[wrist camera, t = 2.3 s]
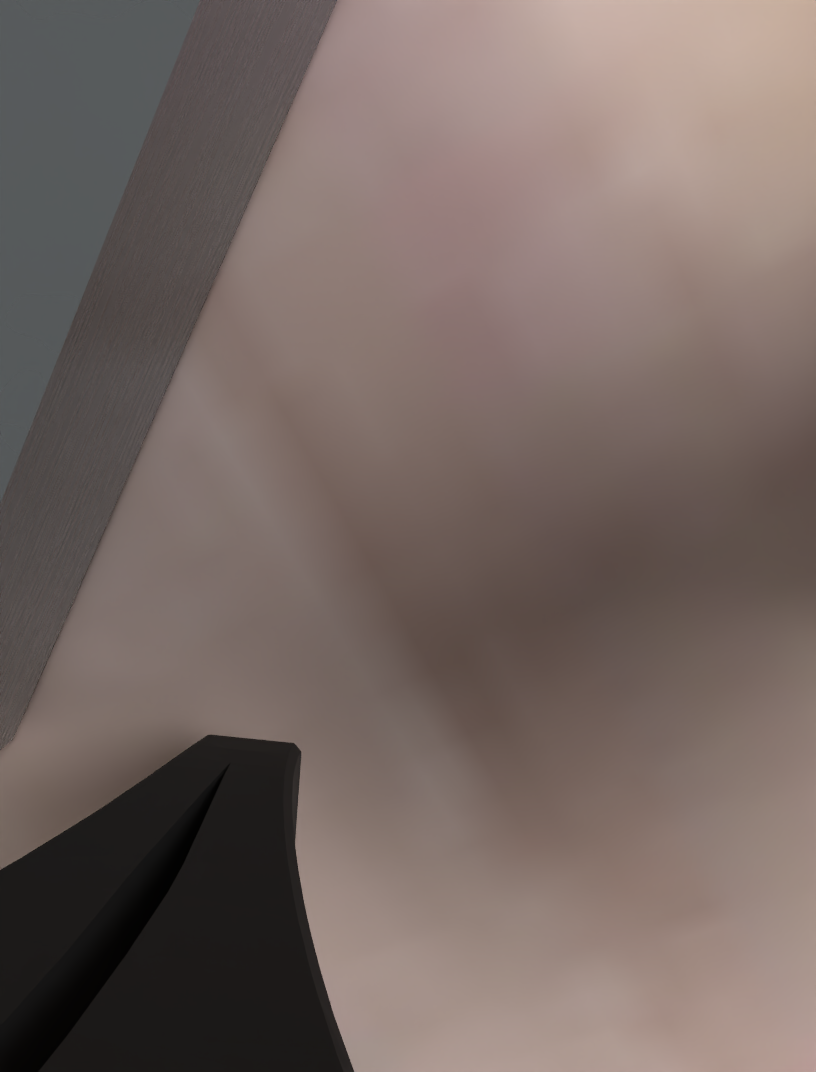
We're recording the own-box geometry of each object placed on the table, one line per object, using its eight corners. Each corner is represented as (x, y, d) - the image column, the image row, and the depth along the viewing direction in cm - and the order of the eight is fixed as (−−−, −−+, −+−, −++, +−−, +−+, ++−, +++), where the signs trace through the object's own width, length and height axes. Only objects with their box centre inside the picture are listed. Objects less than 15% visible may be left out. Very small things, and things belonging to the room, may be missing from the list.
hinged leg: (296, -339, 7) (189, -971, 4) (443, -244, 8) (461, -771, 4) (-101, 687, 10) (-358, 828, 7) (12, 740, 11) (-185, 903, 7)
